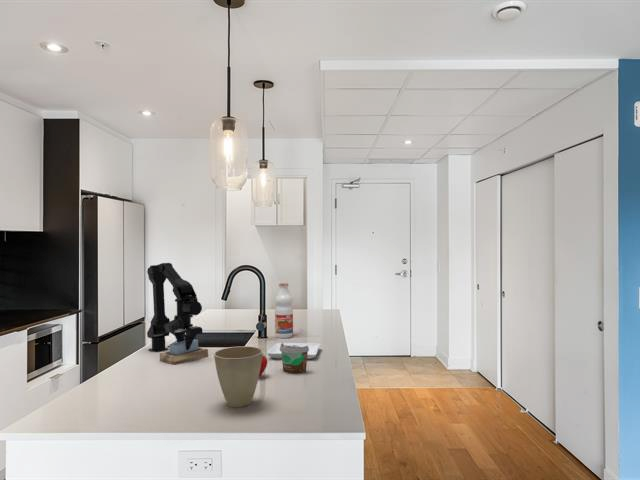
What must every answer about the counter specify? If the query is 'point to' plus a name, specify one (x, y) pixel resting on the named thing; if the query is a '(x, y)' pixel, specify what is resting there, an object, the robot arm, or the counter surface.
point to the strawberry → (263, 364)
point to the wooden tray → (183, 356)
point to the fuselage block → (182, 347)
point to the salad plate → (277, 353)
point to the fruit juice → (283, 313)
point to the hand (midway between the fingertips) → (184, 348)
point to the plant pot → (238, 373)
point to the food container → (294, 358)
